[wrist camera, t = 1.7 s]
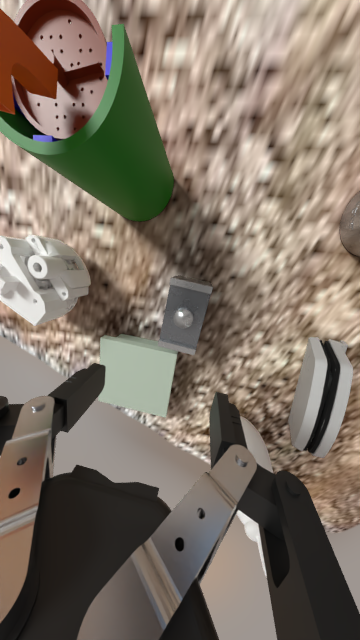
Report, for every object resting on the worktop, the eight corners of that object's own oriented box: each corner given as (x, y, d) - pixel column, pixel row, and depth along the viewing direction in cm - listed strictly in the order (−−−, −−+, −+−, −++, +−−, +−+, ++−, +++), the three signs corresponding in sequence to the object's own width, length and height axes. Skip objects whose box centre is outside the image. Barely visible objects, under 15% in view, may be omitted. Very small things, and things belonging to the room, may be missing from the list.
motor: (176, 148, 23) (44, -399, 4) (170, 224, 26) (74, 99, 7) (103, 146, 24) (-268, -300, 5) (105, 219, 27) (-138, 98, 8)
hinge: (317, 424, 32) (333, 481, 23) (287, 414, 34) (291, 463, 25) (344, 338, 27) (377, 370, 18) (307, 332, 29) (321, 359, 20)
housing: (210, 282, 27) (213, 287, 20) (197, 334, 30) (194, 356, 23) (179, 275, 28) (170, 277, 20) (168, 327, 30) (157, 346, 23)
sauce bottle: (244, 398, 32) (289, 545, 15) (264, 429, 33) (326, 597, 16) (207, 412, 34) (209, 557, 17) (227, 441, 35) (247, 603, 18)
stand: (181, 341, 31) (177, 354, 26) (171, 396, 34) (165, 417, 30) (116, 327, 32) (100, 337, 27) (112, 383, 35) (98, 400, 31)
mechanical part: (25, 262, 31) (-79, 259, 19) (79, 230, 28) (-6, 204, 17) (60, 320, 33) (-15, 347, 22) (113, 296, 30) (58, 313, 19)
